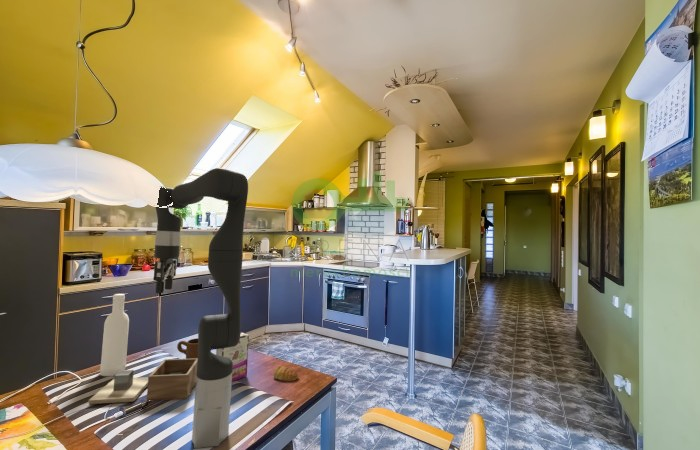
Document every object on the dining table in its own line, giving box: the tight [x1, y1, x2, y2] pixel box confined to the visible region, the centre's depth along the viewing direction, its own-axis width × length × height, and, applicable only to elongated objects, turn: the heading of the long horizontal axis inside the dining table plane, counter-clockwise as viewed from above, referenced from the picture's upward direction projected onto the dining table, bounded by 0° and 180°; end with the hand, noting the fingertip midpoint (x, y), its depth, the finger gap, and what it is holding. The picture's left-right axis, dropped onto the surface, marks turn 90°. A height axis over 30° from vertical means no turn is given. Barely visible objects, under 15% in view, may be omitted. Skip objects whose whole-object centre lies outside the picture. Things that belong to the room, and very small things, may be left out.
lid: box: [88, 369, 149, 405], centre depth 104 cm, size 15×13×7 cm
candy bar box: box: [215, 331, 250, 382], centre depth 118 cm, size 11×5×16 cm, turn 143°
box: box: [146, 358, 198, 402], centre depth 108 cm, size 14×12×8 cm
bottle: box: [99, 293, 130, 377], centre depth 119 cm, size 8×8×30 cm
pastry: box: [273, 365, 299, 382], centre depth 121 cm, size 9×7×4 cm
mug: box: [176, 337, 198, 359], centre depth 130 cm, size 12×8×9 cm, turn 89°
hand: (164, 291), depth 105 cm, fingers open, 8 cm apart
